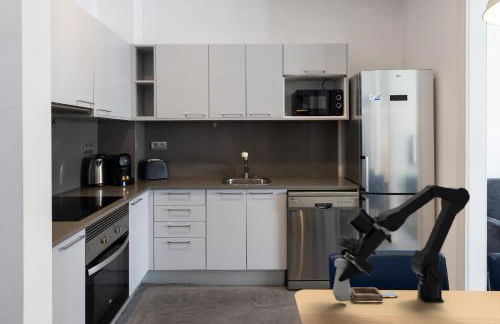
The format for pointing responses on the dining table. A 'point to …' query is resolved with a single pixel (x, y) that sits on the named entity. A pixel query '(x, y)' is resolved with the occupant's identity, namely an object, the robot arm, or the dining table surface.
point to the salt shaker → (341, 288)
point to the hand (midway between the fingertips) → (337, 279)
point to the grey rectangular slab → (389, 294)
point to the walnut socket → (366, 294)
